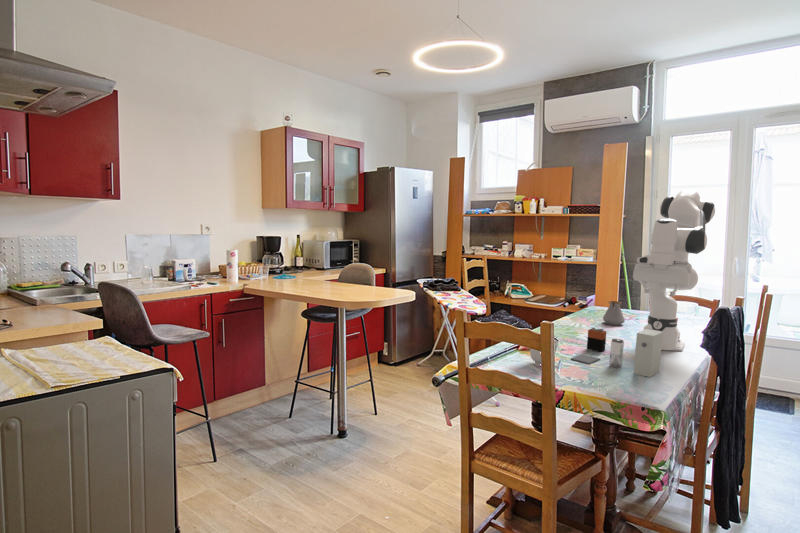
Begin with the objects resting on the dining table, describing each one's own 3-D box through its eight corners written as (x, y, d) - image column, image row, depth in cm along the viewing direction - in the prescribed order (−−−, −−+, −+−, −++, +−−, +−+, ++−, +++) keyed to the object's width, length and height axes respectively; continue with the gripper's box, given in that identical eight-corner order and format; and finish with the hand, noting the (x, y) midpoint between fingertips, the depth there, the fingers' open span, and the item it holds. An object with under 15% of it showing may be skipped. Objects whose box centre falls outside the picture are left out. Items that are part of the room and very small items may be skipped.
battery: (601, 352, 208) (603, 330, 207) (586, 349, 212) (587, 327, 211) (605, 350, 211) (607, 329, 210) (590, 347, 216) (591, 326, 214)
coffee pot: (603, 320, 275) (605, 295, 273) (625, 323, 269) (627, 298, 268) (599, 327, 256) (601, 301, 255) (622, 330, 251) (624, 303, 249)
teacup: (555, 359, 194) (556, 336, 193) (559, 371, 180) (560, 345, 179) (525, 357, 197) (526, 334, 196) (526, 367, 183) (528, 343, 182)
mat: (581, 355, 202) (581, 354, 202) (600, 359, 196) (600, 358, 196) (570, 359, 195) (570, 358, 195) (589, 364, 189) (589, 363, 189)
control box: (643, 367, 187) (646, 328, 185) (659, 371, 183) (663, 331, 181) (633, 373, 180) (636, 333, 178) (649, 377, 175) (653, 336, 174)
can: (612, 364, 191) (614, 337, 190) (623, 366, 188) (625, 340, 187) (607, 366, 188) (609, 339, 187) (619, 369, 185) (621, 342, 183)
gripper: (694, 262, 179) (691, 297, 180) (638, 257, 194) (636, 290, 195) (689, 262, 174) (686, 298, 176) (632, 258, 189) (630, 291, 191)
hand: (659, 294), depth 186 cm, fingers open, 8 cm apart
